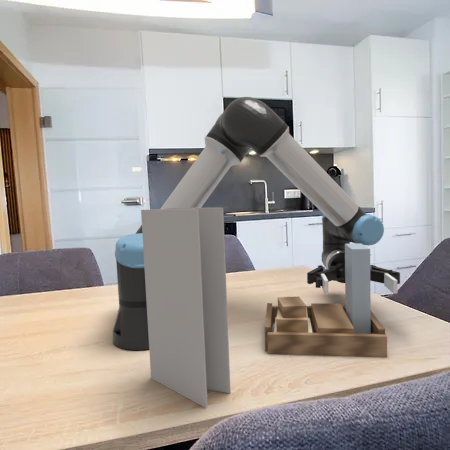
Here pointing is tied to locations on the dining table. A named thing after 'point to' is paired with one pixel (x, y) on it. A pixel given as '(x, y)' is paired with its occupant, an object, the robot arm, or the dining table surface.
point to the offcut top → (291, 307)
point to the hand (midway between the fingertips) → (360, 287)
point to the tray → (326, 334)
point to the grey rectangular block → (358, 287)
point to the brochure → (187, 300)
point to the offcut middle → (292, 324)
